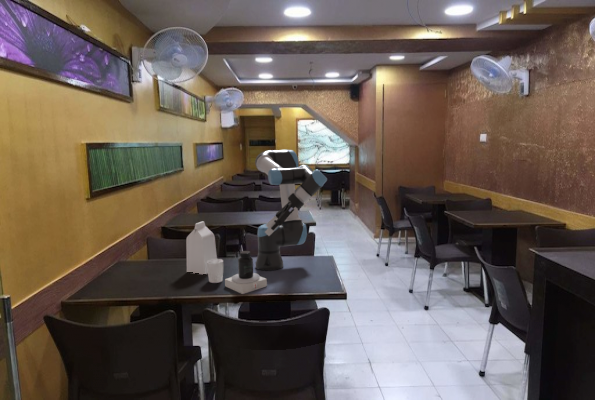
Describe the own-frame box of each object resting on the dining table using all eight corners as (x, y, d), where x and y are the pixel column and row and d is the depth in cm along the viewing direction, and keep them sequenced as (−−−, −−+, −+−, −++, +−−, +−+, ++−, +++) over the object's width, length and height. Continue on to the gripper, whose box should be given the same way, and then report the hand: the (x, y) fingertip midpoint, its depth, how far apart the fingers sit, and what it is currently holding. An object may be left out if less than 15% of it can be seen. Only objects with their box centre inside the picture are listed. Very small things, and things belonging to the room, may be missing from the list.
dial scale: (225, 286, 193) (224, 276, 192) (249, 279, 202) (249, 270, 201) (243, 294, 182) (242, 284, 181) (267, 286, 191) (267, 277, 191)
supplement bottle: (237, 275, 194) (236, 250, 192) (251, 273, 196) (251, 249, 194) (239, 280, 187) (238, 254, 185) (254, 278, 189) (253, 253, 187)
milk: (205, 274, 210) (202, 225, 206) (186, 272, 214) (183, 224, 211) (217, 267, 221) (215, 220, 217) (200, 265, 225) (197, 219, 222)
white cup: (226, 279, 203) (226, 259, 201) (218, 284, 196) (217, 264, 194) (213, 277, 206) (212, 258, 204) (204, 282, 198) (203, 262, 197)
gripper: (306, 208, 175) (272, 242, 177) (303, 199, 200) (273, 229, 201) (294, 196, 174) (260, 231, 176) (292, 188, 199) (262, 219, 200)
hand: (267, 230), depth 189 cm, fingers open, 13 cm apart
